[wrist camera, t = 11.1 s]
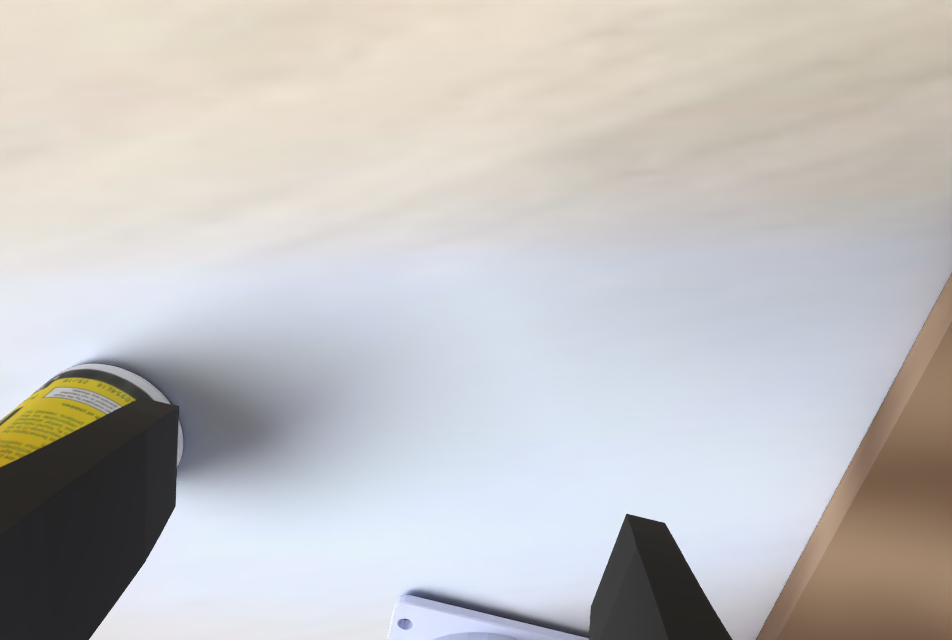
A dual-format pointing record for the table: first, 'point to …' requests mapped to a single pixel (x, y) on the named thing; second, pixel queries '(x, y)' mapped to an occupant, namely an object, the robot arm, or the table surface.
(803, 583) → the lens collar
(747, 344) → the table surface
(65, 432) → the supplement bottle
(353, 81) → the table surface
